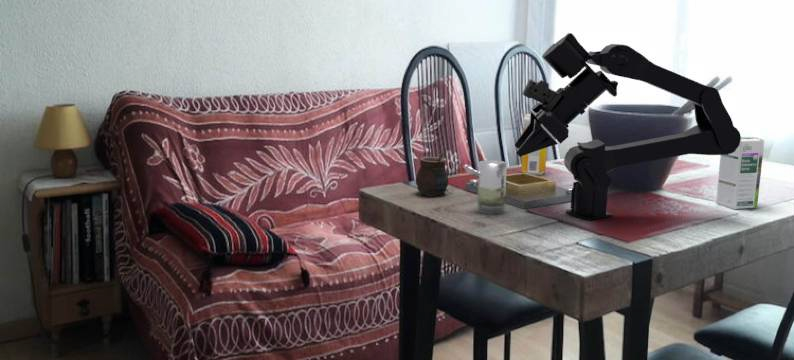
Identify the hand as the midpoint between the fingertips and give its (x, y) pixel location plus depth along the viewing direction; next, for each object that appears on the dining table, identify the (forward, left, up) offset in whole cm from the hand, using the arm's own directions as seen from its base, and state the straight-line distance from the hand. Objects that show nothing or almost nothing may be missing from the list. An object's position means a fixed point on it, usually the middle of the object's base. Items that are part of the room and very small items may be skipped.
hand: (517, 150), depth 136 cm
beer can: (+27, -30, -13) cm, 42 cm away
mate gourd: (+21, +5, -13) cm, 25 cm away
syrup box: (-19, -45, -13) cm, 50 cm away
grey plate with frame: (+11, -12, -13) cm, 20 cm away
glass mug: (+4, +5, -13) cm, 14 cm away
